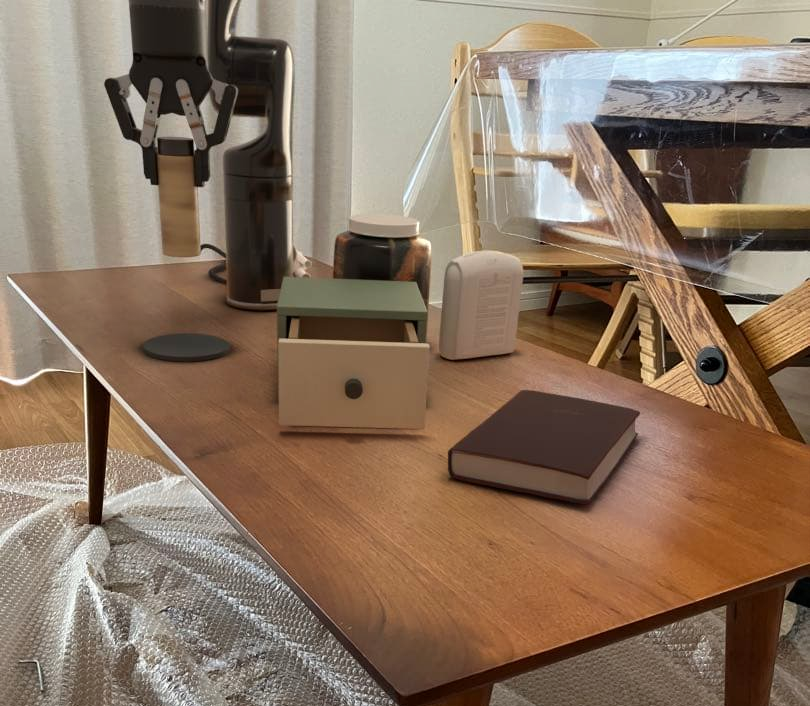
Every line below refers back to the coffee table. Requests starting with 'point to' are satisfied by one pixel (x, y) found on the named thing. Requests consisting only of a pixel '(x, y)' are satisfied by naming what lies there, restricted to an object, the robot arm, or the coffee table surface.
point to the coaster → (186, 347)
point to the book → (546, 446)
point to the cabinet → (349, 302)
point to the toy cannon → (296, 265)
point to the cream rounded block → (480, 305)
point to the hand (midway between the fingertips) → (177, 184)
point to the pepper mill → (178, 197)
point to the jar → (384, 251)
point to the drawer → (352, 373)
